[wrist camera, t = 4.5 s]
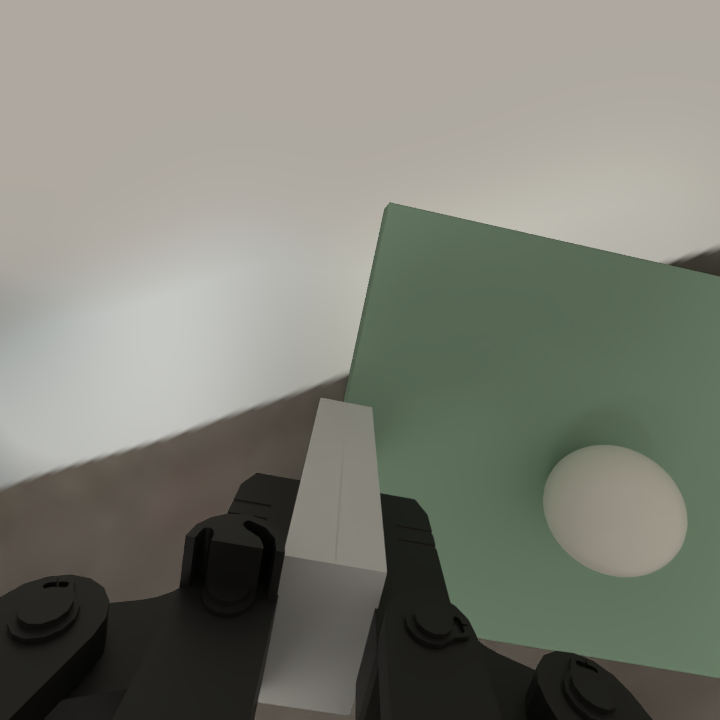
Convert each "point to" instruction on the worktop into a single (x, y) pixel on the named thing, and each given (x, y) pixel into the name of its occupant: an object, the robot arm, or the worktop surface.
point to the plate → (544, 424)
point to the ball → (615, 511)
